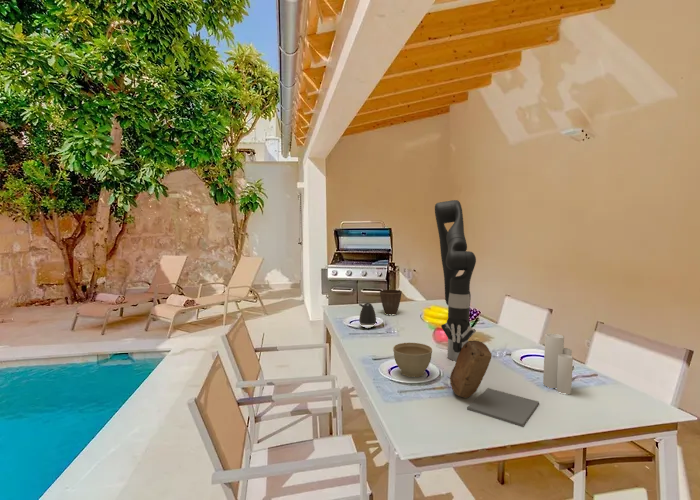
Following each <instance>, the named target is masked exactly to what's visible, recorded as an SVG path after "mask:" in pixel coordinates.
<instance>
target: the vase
mask: <svg viewBox="0 0 700 500" xmlns="http://www.w3.org/2000/svg"><path fill="white" fill-rule="evenodd" d="M572 352H573V351H572V349H571V348H568V347H565V336H564V335H563V334H560V333H553V332H551V333H550V332H548V333H545V334H544V352H543V354H544V357H543V376H542V377H543V379H542V382H543V383H542V385H543V384H544V385H545V386H547V387H549V388H548V389H550V388H557V389H556V390H557V391H558V392H561V393H566V394H570V393H571V394H572V385H573V384H572V383H573V363H574V357H573V355H572ZM544 385H543V386H544ZM545 386H544V387H545ZM547 387H546V388H547ZM557 391H556V392H557ZM558 392H557V393H558ZM561 393H560V394H561Z"/></svg>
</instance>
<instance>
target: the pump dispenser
mask: <svg viewBox="0 0 700 500" xmlns="http://www.w3.org/2000/svg"><path fill="white" fill-rule="evenodd" d="M358 305H359V307H361V309H360V313H359V320H358V321H359V325H360V324H361V325H374V324H375V325H376V323H377V316H376V312H375V308H374V306H373V304H372V303H370V302H365V303H364V304H363V303H359V304H358ZM361 325H360V326H361Z"/></svg>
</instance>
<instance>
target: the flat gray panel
mask: <svg viewBox="0 0 700 500" xmlns="http://www.w3.org/2000/svg"><path fill="white" fill-rule="evenodd" d="M539 405H540V402H539V401H538V400H534V399H531V398H530V399H529V398H527V397H524V396H519V395H516V394H512V393H508V392H504V391H500V390H497V389H493V388H490V387H488V388H486V389H485V390H483V392H482V393H480V395H478V396H477V397H476V398H475V399H474V400H473V401H472V402H471V403H470V404H469V405H468V406H466V410H467V411H472V412H474V413H477V414H481V415H484V416H487V417H491V418H493V419H497V420H499V421H502V422H507V423H509V424H513V425H515V426H518V427H521V428H524V426H525V424H526V423H527V422H528V420H529V419H530V417H531V416H532V415H533V413H534V411H536V409H537V408H536V407H538V406H539ZM531 414H532V415H531ZM526 421H527V422H526Z"/></svg>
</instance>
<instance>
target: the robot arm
mask: <svg viewBox="0 0 700 500" xmlns="http://www.w3.org/2000/svg"><path fill="white" fill-rule="evenodd" d="M434 216H435V221H436V227H437V233H438V239H439V246H440V248H439V249H440V257H441V259H440V260H441V264H442V269H443V278H444V280H443V281H444V298H445V299H444V300H445V303H446V305H447V306H448V307H447V309H448V310H447V320H446V322H445V323H443V324H441V325H440V326H441V328H442V330H443V333H444V335H445V336H446V338H447V354H446V355H447V358H448V360H452V361H454V362H456V361H457V358H458V355H459V353H460V351H461V349H462V347H463V345H464V344H465V343H466V342H468V341H469V339H470V338H471V337H472V336H473V335H474V334H475V333H476V329H475V328H472V327H471V322H470V308H471V291H470V290H471V289H470V288H471V286H470V284H471V279H472V275H473V272H474V270H475V267H476V264H477V257H476V255H475V253H474V252H473V251H467V250H468V245H467V239H466V236H465V235H466V234H465V228H464V227H465V226H464V223H465V222H464V215H463V208H462V204H461V202H460V201H459V200H458V199H457V200H456V199H452V200H447V201H439V202H436V204H434ZM448 223H449V224H451V223H452V225H451V226H450V228H449V229H447V228H446V225H445V224H448ZM460 271H463V272H462V274H460V275H458V273H459V272H460Z"/></svg>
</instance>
